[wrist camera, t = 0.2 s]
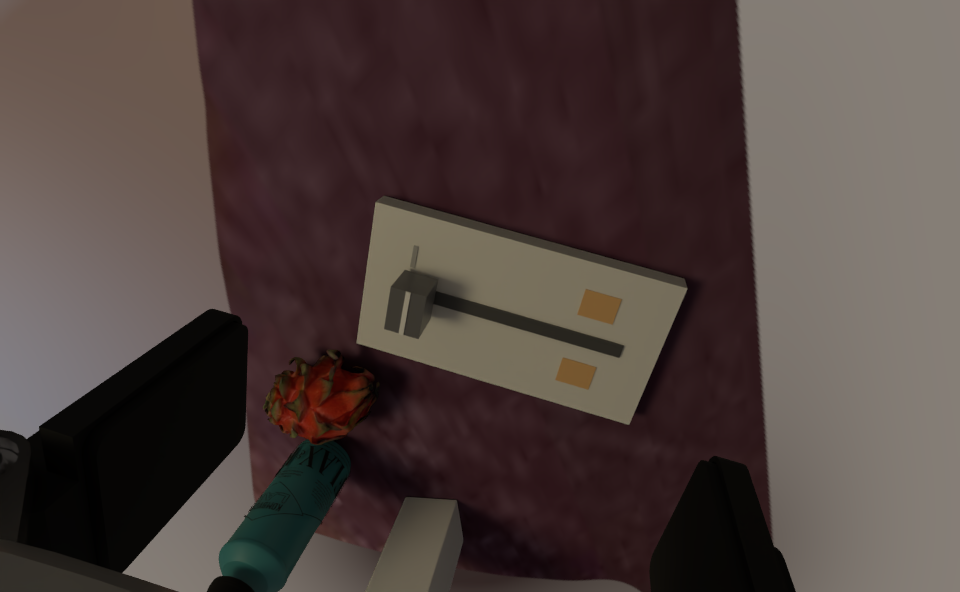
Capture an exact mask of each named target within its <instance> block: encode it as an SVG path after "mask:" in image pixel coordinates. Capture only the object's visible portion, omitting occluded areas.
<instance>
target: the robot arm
mask: <svg viewBox="0 0 960 592" xmlns="http://www.w3.org/2000/svg"><path fill="white" fill-rule="evenodd" d="M247 353H248V329H247V327H246V326H245V325H242V321H241V318H240V317H238V316H236V315H233V314H229V313H226V312H222V311H219V310H215V309H209V310H207V311H206V312H204V313H203V314H201V315H200V316H198V317H197V318H195V319H194V320H193V321H191V322H190V323H188V324H187V325H185V326H184V327H182V328H181V329H180V330H178V331H177V332H175V333H174V334H172V335H171V336H169V337H168V338H167V339H165V340H164V341H162V342H161V343H159V344H158V345H157V346H155V347H153V348H152V349H151V350H149V351H148V352H146V353H145V354H143V355H142V356H141V357H139V358H138V359H136V360H135V361H133V362H132V363H130V364H129V365H127V366H126V367H124V368H123V369H122V370H120V371H119V372H117V373H116V374H114V375H113V376H111V377H110V378H109V379H107V380H106V381H104V382H103V383H101V384H100V385H99V386H97V387H96V388H94V389H93V390H91V391H90V392H88V393H87V394H85V395H84V396H82V397H81V398H80V399H78V400H77V401H75V402H74V403H72V404H71V405H69V406H68V407H67V408H65V409H64V410H62V411H61V412H59V413H58V414H56V415H55V416H54V417H52V418H51V419H49V420H48V421H47V422H45V423H43V424H42V425H41V426H39V431H38V432H36V433H35V434H33V435H32V436H31V437H29V438H28V439H26V438H25V437H23V436H22V435H19V434H17V433H14V432H12V431H4V430H0V592H177V591H174V590H171V589H168V588H165V587H162V586H159V585H156V584H153V583H150V582H147V581H144V580H141V579H138V578H135V577H132V576H129V575H125V574H122V572H123V571H124V570H125V569H126V568H127V567H128V566H129V565H130V564H131V563H132V561H134V560H135V558H136V557H137V556H138V555H139V554H140V553H141V552H142V550H143V549H144V548H145V547H146V546H147V545H148V544H149V543H150V541H152V540H153V538H154V537H155V536H156V535H157V534H158V533H159V532H160V530H161V529H162V528H163V527H164V526H165V525H166V524H167V523H168V522H169V520H170V519H171V518H172V517H173V516H174V515H175V514H176V513H177V512H178V510H179V509H180V508H181V507H182V506H183V505H184V504H185V503H186V502H187V500H188V499H189V498H190V497H191V496H192V495H193V494H194V493H195V492H196V490H197V489H198V488H199V487H200V486H201V485H202V484H203V483H204V481H205V480H206V479H207V478H208V477H209V476H210V475H211V473H213V471H214V470H215V469H216V468H217V467H218V466H219V465H220V464H221V462H222V461H223V460H224V459H225V458H226V457H227V456H228V455H229V454H230V453H231V451H232V450H233V449H234V448H235V447H236V446H237V445H238V443H239V442H240V440H241V438H242V436H243V434H244V431H245V423H246V388H247ZM650 584H651V592H796V591H795V588H794V585H793V582H792V580H791V577H790V574H789V571H788V568H787V565H786V562H785V560H784V558H783V556H782V553H781V552H780V551H779V550H778V549H777V548H776V547H774V546H773V543H772V540H771V537H770V534H769V531H768V528H767V525H766V522H765V519H764V516H763V513H762V510H761V507H760V504H759V501H758V498H757V495H756V492H755V489H754V486H753V483H752V480H751V477H750V474H749V471H748V469H747V467H746V466H745V465H744V464H741V463H738V462H734V461H731V460H728V459H724V458H721V457H717V456H713V457H712V458H711V459H710V460H709V461H708V462H707V461H704V460H701V461H700V462H699V463H698V465H697V467H696V469H695V471H694V473H693V475H692V477H691V479H690V481H689V483H688V485H687V487H686V489H685V491H684V493H683V495H682V497H681V499H680V501H679V503H678V505H677V507H676V509H675V511H674V513H673V515H672V517H671V519H670V521H669V523H668V525H667V527H666V529H665V531H664V533H663V535H662V537H661V539H660V541H659V543H658V545H657V547H656V549H655V551H654V553H653V555H652V558H651V563H650Z"/></svg>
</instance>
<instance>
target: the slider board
mask: <svg viewBox="0 0 960 592" xmlns="http://www.w3.org/2000/svg"><path fill="white" fill-rule="evenodd" d="M404 270H408V271H411V272H415V273H418V274H422V275H425V276H429V277H432V278H435V279H438V284H437V289H436V294H435V299H434V304H433V309H432V314H431V319H430V321H429V323H428V324H427V326H426V328H425V329H424V331H423V332H422V334H421V336H420V337H419V339H416V338H412V337H409V336H406V335H400V334H399V333H396V332H392V331H389V330H386V329H384V326H385V319H386V313H387V307H388V300H389V294H390V288H391V286H392V285H393V283H394V282H395V281H396V280H397V279H398V277H399V276H400V275H401V274H402V273H403V271H404ZM687 289H688V288H687V285H686V282H685V279H684V278H680V277H676V276H673V275H669V274H666V273H662V272H658V271H655V270H651V269H648V268H644V267H640V266H637V265H633V264H629V263H626V262H622V261H619V260H615V259H611V258H608V257H604V256H600V255H597V254H593V253H590V252H586V251H582V250H579V249H575V248H571V247H568V246H564V245H561V244H557V243H553V242H550V241H546V240H543V239H539V238H535V237H532V236H528V235H524V234H521V233H517V232H514V231H510V230H506V229H503V228H499V227H495V226H492V225H488V224H485V223H481V222H477V221H474V220H470V219H467V218H463V217H459V216H456V215H452V214H448V213H445V212H441V211H438V210H434V209H430V208H427V207H423V206H419V205H416V204H412V203H409V202H405V201H401V200H398V199H394V198H391V197H387V196H383V197H382V198H380V199H379V200H378V201H376V204H375V211H374V218H373V226H372V233H371V240H370V248H369V255H368V262H367V270H366V277H365V285H364V292H363V299H362V307H361V314H360V321H359V329H358V336H357V343H358V344H361V345H365V346H368V347H371V348H375V349H378V350H381V351H385V352H388V353H391V354H395V355H398V356H401V357H405V358H408V359H411V360H415V361H418V362H421V363H425V364H428V365H431V366H435V367H438V368H441V369H445V370H448V371H451V372H455V373H458V374H461V375H465V376H468V377H471V378H475V379H478V380H481V381H485V382H488V383H491V384H495V385H498V386H501V387H505V388H508V389H511V390H515V391H518V392H521V393H525V394H528V395H531V396H535V397H538V398H541V399H545V400H548V401H551V402H554V403H558V404H561V405H564V406H568V407H571V408H574V409H578V410H581V411H584V412H588V413H591V414H594V415H598V416H601V417H604V418H608V419H611V420H614V421H618V422H621V423H624V424H628V425H629V424H630V422H631V419H632V417H633V415H634V412H635V410H636V408H637V405H638V403H639V401H640V398H641V396H642V394H643V391H644V389H645V387H646V384H647V382H648V380H649V377H650V375H651V373H652V370H653V368H654V366H655V363H656V361H657V359H658V356H659V354H660V352H661V349H662V347H663V345H664V342H665V340H666V338H667V335H668V333H669V331H670V328H671V326H672V324H673V321H674V319H675V317H676V314H677V312H678V310H679V307H680V305H681V303H682V300H683V298H684V296H685V293H686V291H687Z"/></svg>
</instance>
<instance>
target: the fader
mask: <svg viewBox="0 0 960 592" xmlns="http://www.w3.org/2000/svg"><path fill="white" fill-rule="evenodd" d="M437 284H438V279H435V278H432V277H429V276H425V275H422V274H418V273H415V272H411V271H408V270H404V271H403V273H402V274H401V275H400V276H399V277H398V279H397V280H396V281H395V282H394V283H393V285H392V286H391V288H390V294H389V300H388V307H387V313H386V319H385V326H384V329H386V330H389V331H392V332H396V333H399V334H400V335H406V336H409V337H412V338H416V339H419V337H420V336H421V334H422V332H423V331H424V329H425V328H426V326H427V324H428V323H429V321H430V319H431V314H432V309H433V304H434V299H435V294H436V289H437Z"/></svg>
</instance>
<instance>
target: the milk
mask: <svg viewBox="0 0 960 592" xmlns="http://www.w3.org/2000/svg"><path fill="white" fill-rule="evenodd" d="M462 544H463V534H462V528H461V522H460V515H459V509H458V503H457V500H448V499H432V498H416V497H406V498H405V500H404V502H403V504H402V507H401V509H400V511H399V514H398V516H397V518H396V521H395V523H394V525H393V528H392V530H391V532H390V535H389V537H388V539H387V542H386V544H385V546H384V549H383V551H382V553H381V556H380V558H379V560H378V563H377V565H376V568H375V570H374V572H373V575H372V577H371V579H370V582H369V584H368V586H367V589H366V591H365V592H449V591H450V587H451V584H452V580H453V576H454V573H455V569H456V566H457V562H458V558H459V555H460V551H461V548H462Z"/></svg>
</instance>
